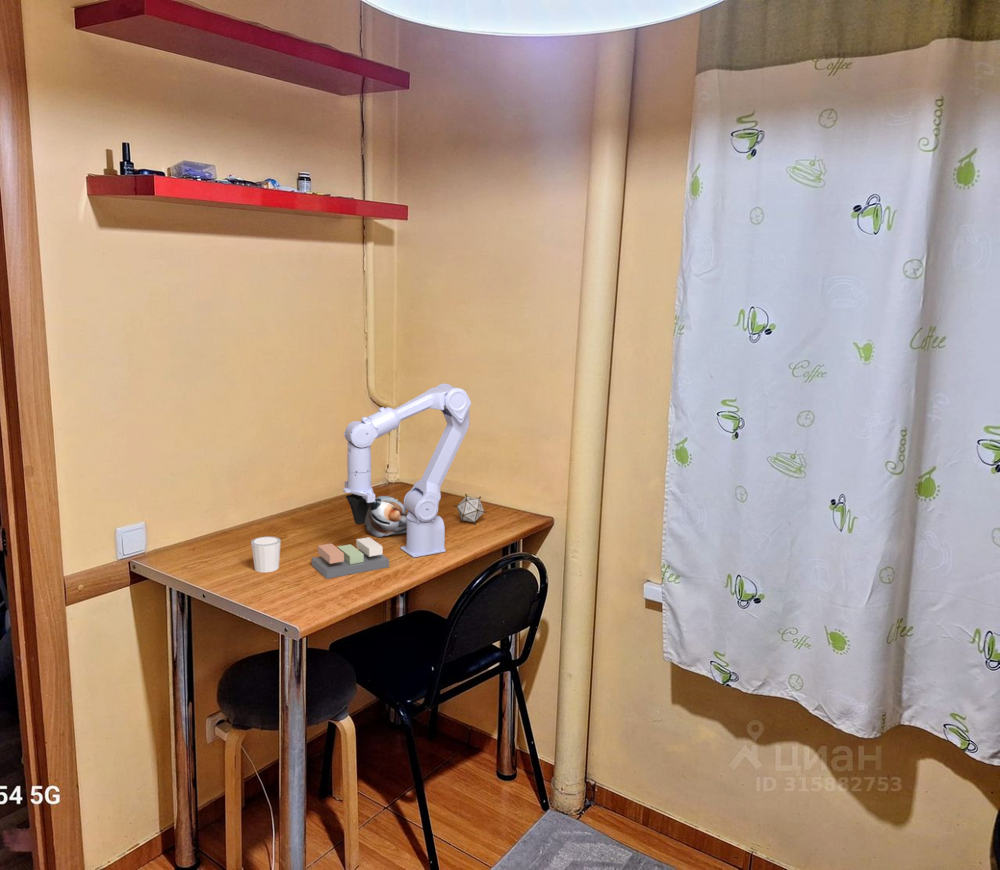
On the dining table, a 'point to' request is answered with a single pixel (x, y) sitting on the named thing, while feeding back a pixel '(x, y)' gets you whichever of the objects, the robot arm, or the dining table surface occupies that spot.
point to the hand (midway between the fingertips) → (359, 523)
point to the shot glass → (266, 553)
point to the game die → (470, 509)
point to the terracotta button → (330, 553)
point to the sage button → (351, 554)
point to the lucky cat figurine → (386, 517)
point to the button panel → (349, 566)
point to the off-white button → (369, 546)
